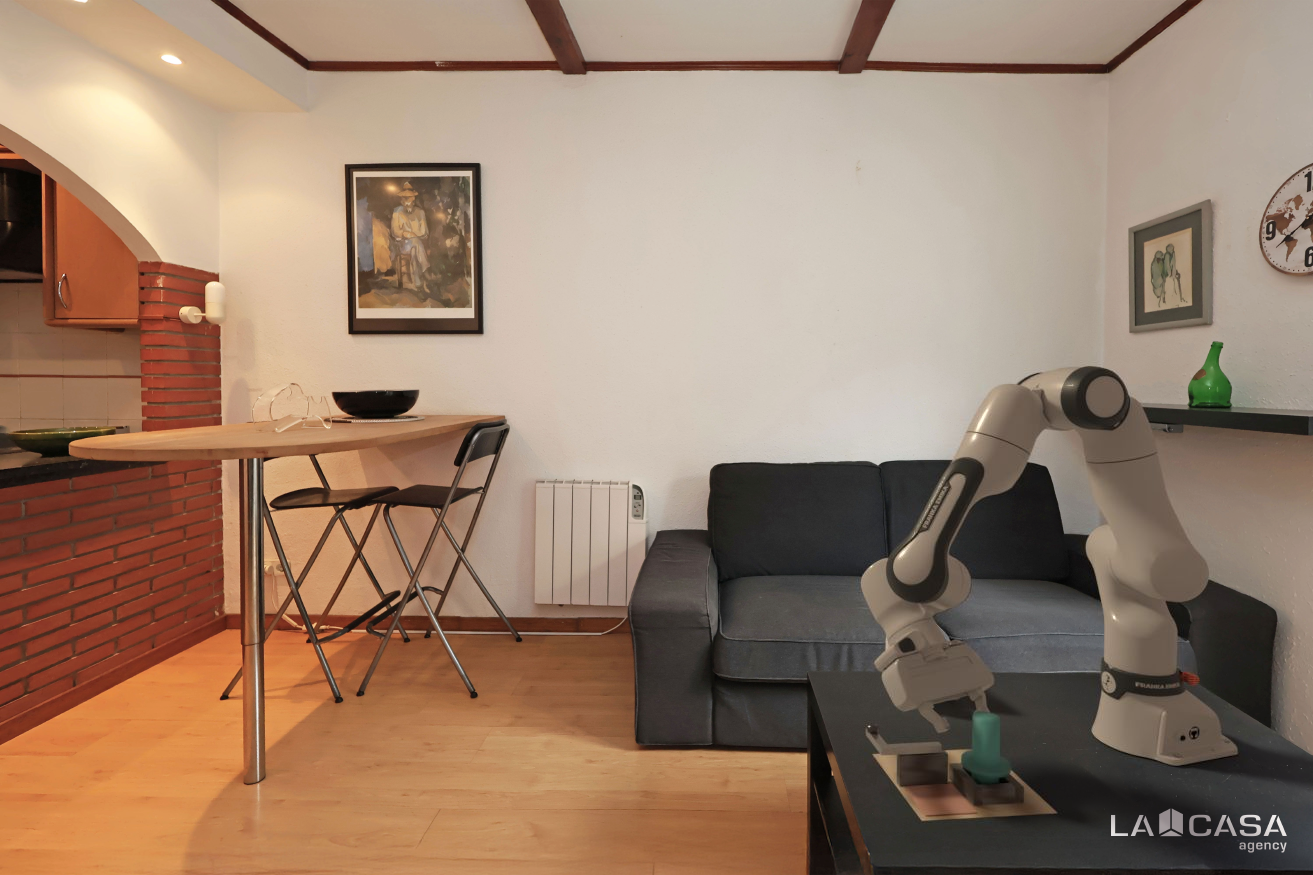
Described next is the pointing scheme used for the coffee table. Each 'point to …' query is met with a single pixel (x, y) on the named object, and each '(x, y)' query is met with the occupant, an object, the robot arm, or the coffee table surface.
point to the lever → (899, 748)
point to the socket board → (957, 788)
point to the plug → (985, 750)
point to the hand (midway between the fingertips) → (965, 724)
